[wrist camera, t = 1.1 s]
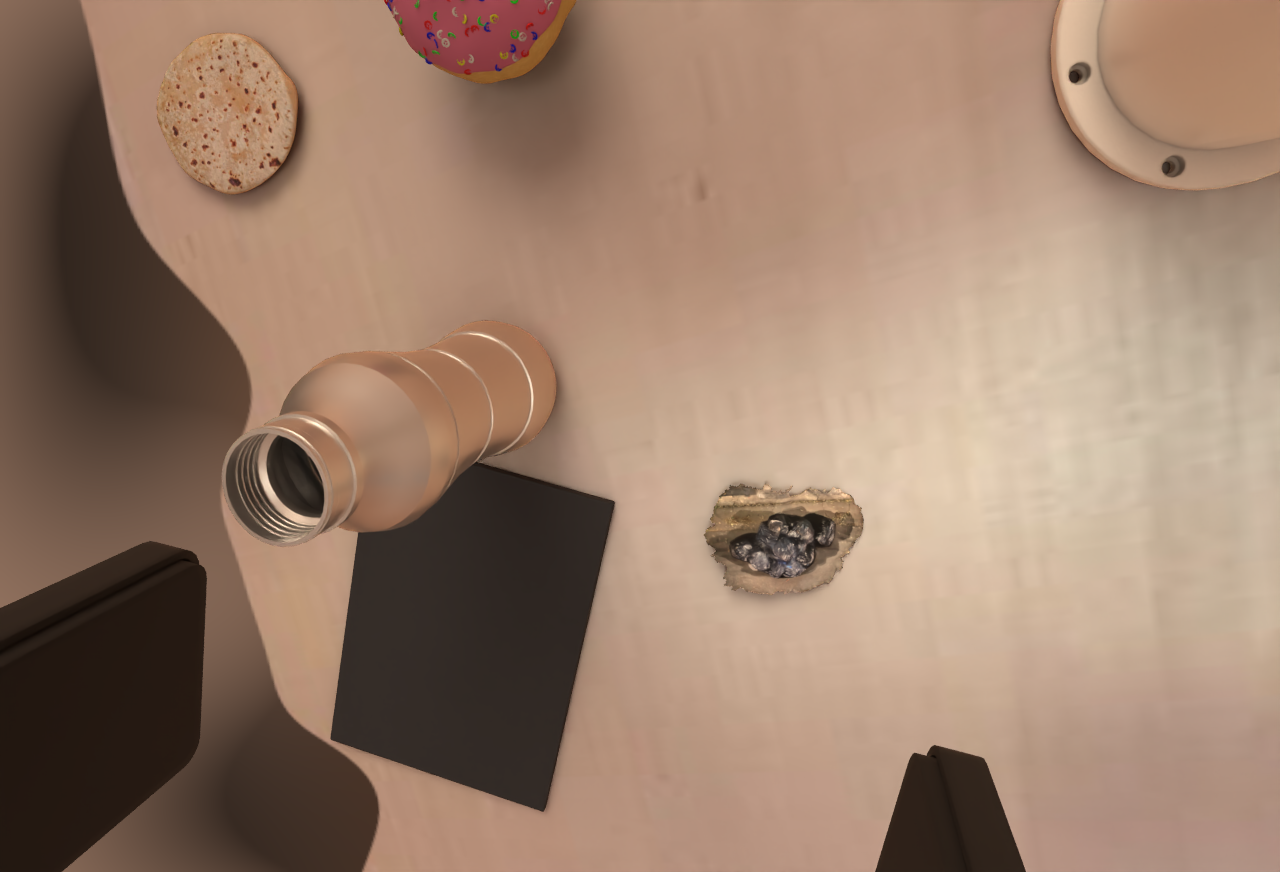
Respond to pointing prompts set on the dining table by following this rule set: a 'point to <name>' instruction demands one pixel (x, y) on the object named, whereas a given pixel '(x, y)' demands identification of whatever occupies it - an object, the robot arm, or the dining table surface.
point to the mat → (473, 632)
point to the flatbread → (228, 112)
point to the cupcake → (481, 34)
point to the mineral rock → (782, 537)
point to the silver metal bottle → (387, 433)
